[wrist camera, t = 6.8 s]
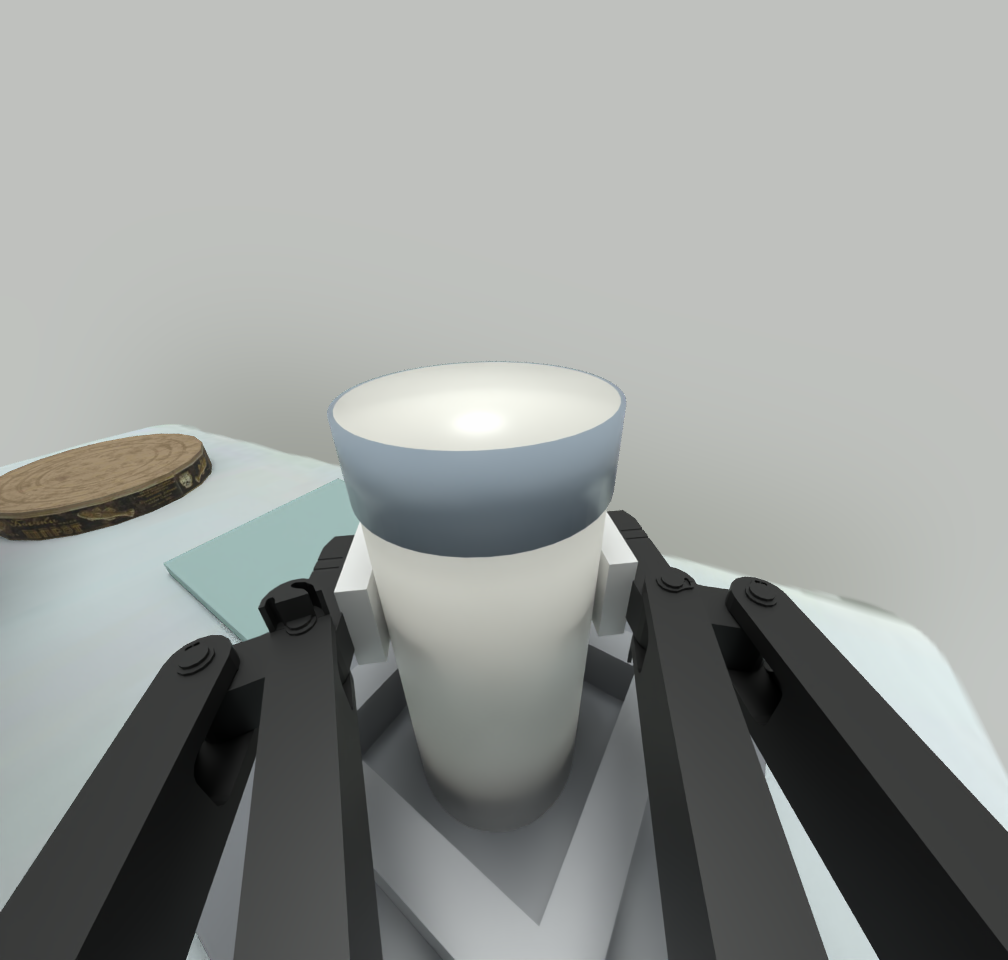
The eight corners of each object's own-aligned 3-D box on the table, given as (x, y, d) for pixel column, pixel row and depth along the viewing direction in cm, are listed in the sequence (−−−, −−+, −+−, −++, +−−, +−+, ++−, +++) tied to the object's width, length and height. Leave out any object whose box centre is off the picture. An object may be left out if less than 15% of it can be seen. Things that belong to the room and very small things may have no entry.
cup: (385, 761, 14) (262, 410, 8) (481, 642, 19) (459, 353, 12) (525, 887, 11) (533, 495, 5) (600, 710, 16) (660, 377, 9)
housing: (163, 842, 14) (97, 786, 12) (465, 562, 27) (459, 510, 25) (673, 1767, 5) (784, 2216, 3) (756, 696, 18) (789, 634, 16)
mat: (169, 574, 27) (163, 563, 26) (340, 487, 37) (338, 478, 36) (278, 674, 20) (271, 662, 19) (450, 534, 30) (449, 523, 29)
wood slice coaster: (171, 447, 47) (160, 424, 45) (244, 476, 40) (233, 450, 38) (-27, 511, 35) (-51, 483, 34) (27, 568, 28) (0, 536, 27)
